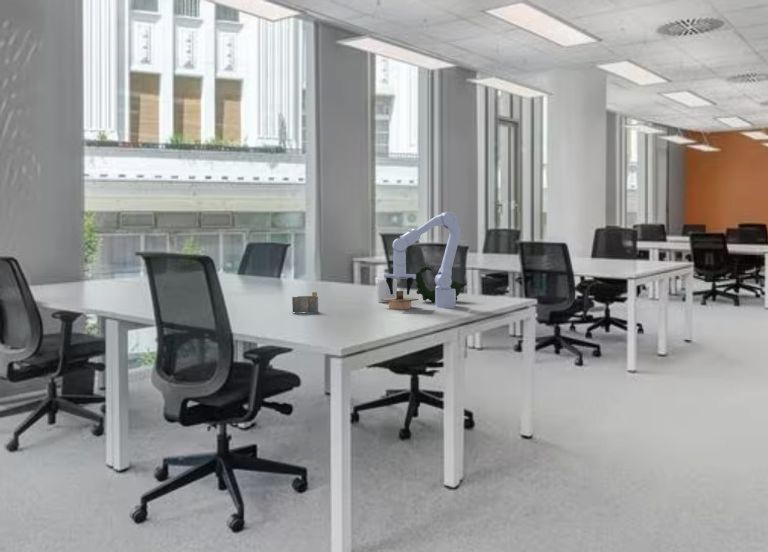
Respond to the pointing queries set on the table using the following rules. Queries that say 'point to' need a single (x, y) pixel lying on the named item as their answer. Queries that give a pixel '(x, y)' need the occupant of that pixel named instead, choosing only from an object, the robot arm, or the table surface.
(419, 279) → the toy figurine
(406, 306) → the bowl
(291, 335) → the table surface
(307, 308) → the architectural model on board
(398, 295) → the lid
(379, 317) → the table surface
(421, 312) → the mat
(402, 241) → the robot arm
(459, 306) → the table surface
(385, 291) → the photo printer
